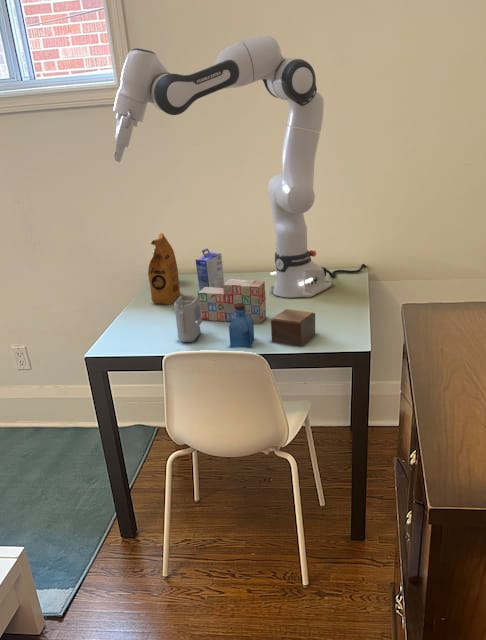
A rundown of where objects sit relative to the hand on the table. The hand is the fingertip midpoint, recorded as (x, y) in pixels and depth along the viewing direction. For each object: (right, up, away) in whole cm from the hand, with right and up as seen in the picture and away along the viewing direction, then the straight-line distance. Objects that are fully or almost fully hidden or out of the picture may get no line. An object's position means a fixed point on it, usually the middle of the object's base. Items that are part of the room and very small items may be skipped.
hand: (117, 160), depth 200 cm
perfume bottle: (+38, -55, +3) cm, 66 cm away
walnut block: (+53, -53, +4) cm, 75 cm away
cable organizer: (+21, -51, +11) cm, 56 cm away
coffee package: (+10, -30, +43) cm, 54 cm away
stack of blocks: (+34, -43, +22) cm, 59 cm away
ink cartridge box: (+26, -25, +50) cm, 62 cm away
